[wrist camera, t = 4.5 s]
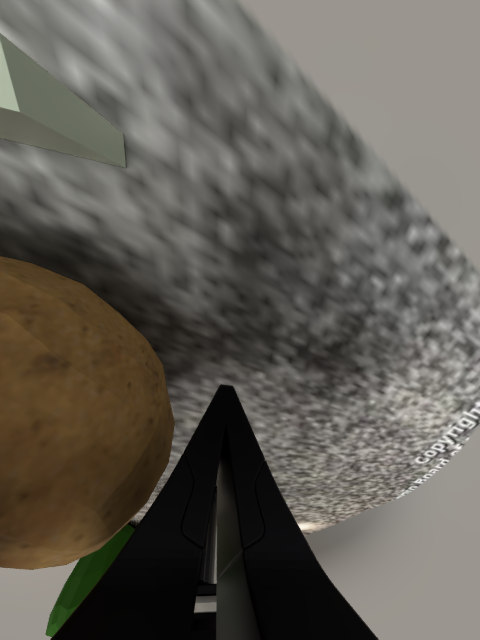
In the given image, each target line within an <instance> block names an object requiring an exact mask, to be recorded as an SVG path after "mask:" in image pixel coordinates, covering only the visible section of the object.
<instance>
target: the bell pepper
mask: <svg viewBox="0 0 480 640" xmlns="http://www.w3.org/2000/svg"><path fill="white" fill-rule="evenodd" d="M134 530H135V529H134V528H133V527H132V526H130V525H125V526H124V527H123V528H122V529H121V530H120V531H119V532H117V533H116V534H115V535H114V536H113V537H112V538H111V539H110V540H109V541H108V542H107V543H106V544H105V545H103V546H102V547H101V548H100V549H99V550H97V551H94V552H92V553H90V554H88V555H86V556H84V557H82V558H80V559H79V562H78V563H77V564H76V566H75V568H74V570H73V571H72V573H71V575H70V576H69V578H68V580H67V581H66V583H65V585H64V587H63V589H62V591H61V593H60V595H59V597H58V599H57V601H56V604H55V606H54V608H53V610H52V612H51V614H50V617H49V622H48V626H47V630H46V635H47V636H50V637H53V636H54V634H55V633H56V632H57V631H58V630H59V628H60V627H61V626H62V625H63V624H64V622H65V621H66V620H67V619H68V618H69V616H70V615H71V614H72V613H73V612H74V610H75V609H76V608H77V607H78V606H79V604H80V603H81V602H82V601H83V600H84V598H85V597H86V596H87V595H88V593H89V592H90V591H91V590H92V589H93V587H94V586H95V585H96V584H97V582H98V581H99V580H100V578H101V577H102V576H103V574H104V573H105V572H106V570H107V569H108V568H109V566H110V565H111V564H112V562H113V561H114V559H115V558H116V557H117V555H118V554H119V552H120V551H121V549H122V548H123V547H124V545H125V544H126V542H127V541H128V539H129V538H130V536H131V535H132V533H133V532H134Z"/></svg>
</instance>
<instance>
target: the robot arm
mask: <svg viewBox="0 0 480 640" xmlns="http://www.w3.org/2000/svg"><path fill="white" fill-rule="evenodd" d="M264 460H265V458H264V456H263V453H262V451H261V449H260V446H259V444H258V442H257V439H256V437H255V435H254V433H253V430H252V428H251V426H250V423H249V421H248V419H247V416H246V414H245V412H244V410H243V407H242V405H241V403H240V400H239V398H238V396H237V393H236V391H235V389H234V387H233V386H230V385H222V384H221V385H220V386H219V388H218V390H217V392H216V394H215V395H214V397H213V399H212V401H211V403H210V405H209V406H208V408H207V410H206V412H205V414H204V416H203V418H202V419H201V421H200V423H199V425H198V427H197V429H196V430H195V432H194V434H193V436H192V438H191V440H190V442H189V443H188V445H187V447H186V449H185V451H184V454H182V456H181V458H180V460H179V462H178V463H177V465H176V467H175V469H174V470H173V472H172V474H171V476H170V477H169V479H168V481H167V482H166V484H165V485H164V487H163V489H162V490H161V492H160V493H159V495H158V496H157V498H156V499H155V501H154V502H153V504H152V505H151V507H150V508H149V510H148V511H147V513H146V514H145V516H144V517H143V519H142V520H141V522H140V523H139V524H138V526H137V527H136V529H135V530H134V532H133V533H132V535H131V536H130V538H129V539H128V541H127V542H126V544H125V545H124V547H123V548H122V549H121V551H120V552H119V554H118V555H117V557H116V558H115V559H114V561H113V562H112V564H111V565H110V566H109V568H108V569H107V570H106V572H105V573H104V574H103V576H102V577H101V578H100V580H99V581H98V582H97V584H96V585H95V586H94V587H93V589H92V590H91V591H90V592H89V593H88V595H87V596H86V597H85V598H84V600H83V601H82V602H81V603H80V604H79V606H78V607H77V608H76V609H75V610H74V612H73V613H72V614H71V615H70V616H69V618H68V619H67V620H66V621H65V622H64V624H63V625H62V626H61V627H60V628H59V630H58V631H57V632H56V633H55V634H54V636H53V637H52V638H51V640H378V638H377V637H376V636H375V634H374V633H373V632H372V631H371V630H370V628H369V627H368V626H367V625H366V624H365V622H364V621H363V620H362V619H361V617H360V616H359V615H358V614H357V613H356V611H355V610H354V609H353V608H352V607H351V606H350V604H349V603H348V602H347V601H346V600H345V598H344V597H343V596H342V594H341V593H340V592H339V591H338V590H337V588H336V587H335V586H334V584H333V583H332V582H331V580H330V579H329V578H328V576H327V575H326V573H325V572H324V570H323V569H322V567H321V565H320V564H319V562H318V561H317V559H316V557H315V555H314V554H313V552H312V550H311V548H310V546H309V544H308V543H307V541H306V539H305V537H304V535H303V533H302V532H301V530H300V528H299V526H298V524H297V522H296V521H295V519H294V517H293V515H292V513H291V511H290V510H289V508H288V506H287V504H286V502H285V500H284V498H283V496H282V494H281V492H280V491H279V489H278V487H277V484H276V482H275V480H274V478H273V476H272V474H271V471H270V469H269V467H268V465H267V462H266V461H264ZM216 479H217V489H216V488H215V485H216ZM216 532H217V583H216V584H214V568H215V550H216ZM212 602H216V611H213V612H194V610H195V603H212Z"/></svg>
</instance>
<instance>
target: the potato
mask: <svg viewBox="0 0 480 640" xmlns="http://www.w3.org/2000/svg"><path fill="white" fill-rule="evenodd" d="M174 426H175V422H174V417H173V413H172V408H171V404H170V399H169V395H168V390H167V385H166V379H165V374H164V368H163V364H162V363H161V361H160V360H159V358H158V357H157V355H156V353H155V352H154V350H153V349H152V347H151V346H150V344H149V343H148V341H147V339H146V338H145V337H144V336H143V335H142V334H141V333H139V332H138V331H137V330H136V329H135V328H134V327H133V326H132V325H131V324H130V323H129V322H128V321H127V320H126V319H125V318H124V317H123V316H122V315H121V314H119V313H118V312H117V311H116V310H115V309H114V308H112V307H111V306H110V305H109V304H107V303H106V302H105V301H104V300H102V299H101V298H100V297H99V296H97V295H96V294H95V293H94V292H92V291H91V290H90V289H89V288H87V287H86V286H85V285H84V284H81V283H79V282H77V281H74V280H72V279H69V278H67V277H64V276H62V275H60V274H57V273H55V272H52V271H50V270H47V269H45V268H42V267H40V266H38V265H35V264H33V263H29V262H25V261H20V260H16V259H11V258H7V257H2V256H0V567H2V568H16V569H29V570H33V569H40V568H47V567H55V566H61V565H67V564H69V563H71V562H73V561H75V560H77V559H80V558H82V557H84V556H86V555H88V554H90V553H92V552H94V551H97V550H99V549H100V548H101V547H102V546H103V545H105V544H106V543H107V542H108V541H109V540H110V539H111V538H112V537H113V536H114V535H115V534H116V533H117V532H119V531H120V530H121V529H122V528H123V527H124V526H125V525H126V524H127V523H128V522H129V521H130V520H131V519H132V518H133V517H134V516H135V515H136V514H137V513H138V512H139V510H140V509H141V508H142V507H143V506H144V505H145V504H146V503H147V501H148V499H149V498H150V496H151V494H152V492H153V490H154V488H155V487H156V485H157V483H158V481H159V479H160V478H161V476H162V474H163V472H164V470H165V468H166V467H167V465H168V463H169V458H170V452H171V445H172V439H173V432H174Z"/></svg>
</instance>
